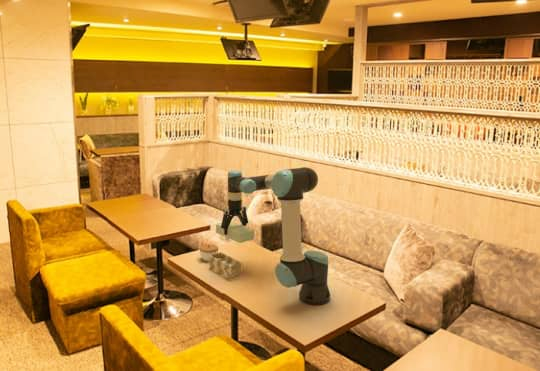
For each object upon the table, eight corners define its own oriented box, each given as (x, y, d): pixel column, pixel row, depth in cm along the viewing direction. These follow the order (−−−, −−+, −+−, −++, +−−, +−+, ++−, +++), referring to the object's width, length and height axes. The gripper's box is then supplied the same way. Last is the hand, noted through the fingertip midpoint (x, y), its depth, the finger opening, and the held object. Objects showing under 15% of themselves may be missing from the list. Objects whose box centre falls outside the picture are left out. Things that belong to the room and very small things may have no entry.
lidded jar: (210, 264, 263) (210, 249, 261) (196, 260, 268) (195, 245, 266) (222, 258, 272) (221, 243, 270) (207, 255, 277) (207, 240, 275)
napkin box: (242, 277, 247) (242, 263, 245) (230, 281, 242) (230, 266, 240) (221, 265, 262) (221, 252, 260) (209, 269, 257) (209, 255, 255)
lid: (254, 239, 250) (254, 230, 249) (240, 243, 243) (240, 234, 242) (230, 229, 266) (230, 220, 264) (216, 232, 259) (215, 224, 258)
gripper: (246, 194, 260) (246, 232, 265) (213, 200, 245) (214, 240, 250) (255, 197, 254) (254, 235, 259) (222, 203, 240) (222, 244, 245)
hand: (234, 238), depth 255 cm, fingers closed on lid, 10 cm apart
